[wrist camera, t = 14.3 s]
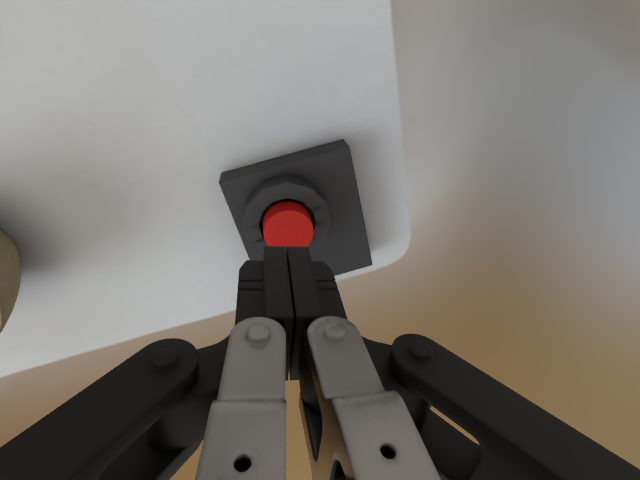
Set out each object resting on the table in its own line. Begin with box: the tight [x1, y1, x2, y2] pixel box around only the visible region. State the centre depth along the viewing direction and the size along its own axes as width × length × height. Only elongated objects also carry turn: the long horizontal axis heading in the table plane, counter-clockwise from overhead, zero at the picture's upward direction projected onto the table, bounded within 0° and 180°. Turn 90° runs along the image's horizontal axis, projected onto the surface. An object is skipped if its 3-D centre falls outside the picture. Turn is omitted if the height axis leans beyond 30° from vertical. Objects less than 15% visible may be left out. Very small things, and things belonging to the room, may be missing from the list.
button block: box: [219, 139, 372, 276], centre depth 30 cm, size 11×10×4 cm
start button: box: [263, 201, 314, 249], centre depth 27 cm, size 4×4×2 cm
